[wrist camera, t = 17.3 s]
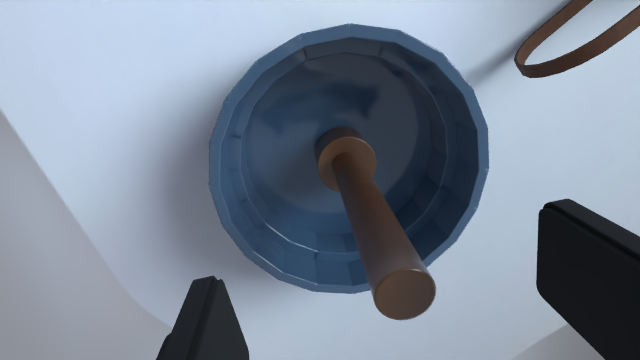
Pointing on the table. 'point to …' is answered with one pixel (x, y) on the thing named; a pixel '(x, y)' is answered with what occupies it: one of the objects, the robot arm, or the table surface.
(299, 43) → the bowl
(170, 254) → the table surface
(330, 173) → the stirring stick
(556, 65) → the brown barrel bag
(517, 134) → the table surface
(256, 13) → the table surface
